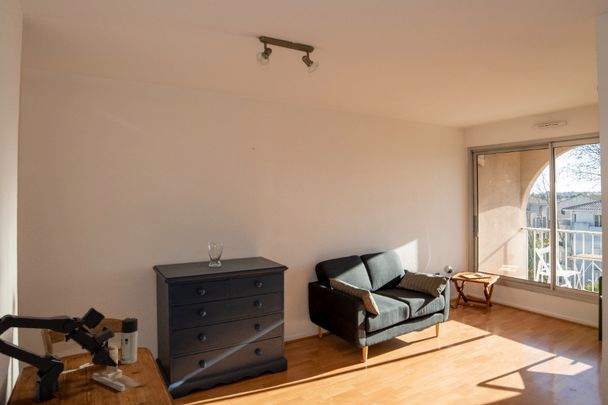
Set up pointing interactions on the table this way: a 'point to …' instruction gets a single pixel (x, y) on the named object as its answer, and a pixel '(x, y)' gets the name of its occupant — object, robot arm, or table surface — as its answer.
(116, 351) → the white tall rounded post
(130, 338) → the spray can
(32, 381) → the table surface
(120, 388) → the board
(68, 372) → the pliers
